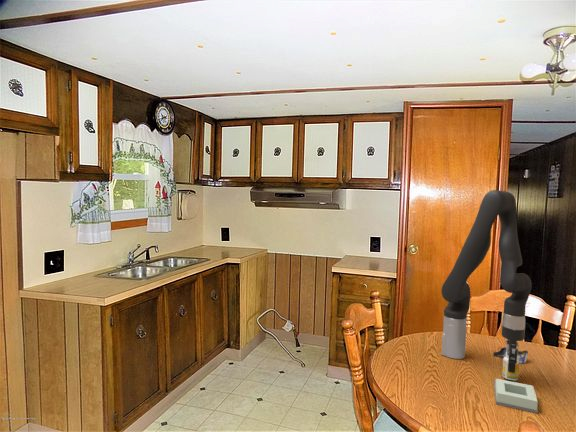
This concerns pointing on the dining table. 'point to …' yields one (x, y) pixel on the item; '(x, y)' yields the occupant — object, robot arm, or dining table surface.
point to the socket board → (515, 395)
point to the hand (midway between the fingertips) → (510, 368)
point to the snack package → (521, 354)
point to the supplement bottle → (505, 369)
